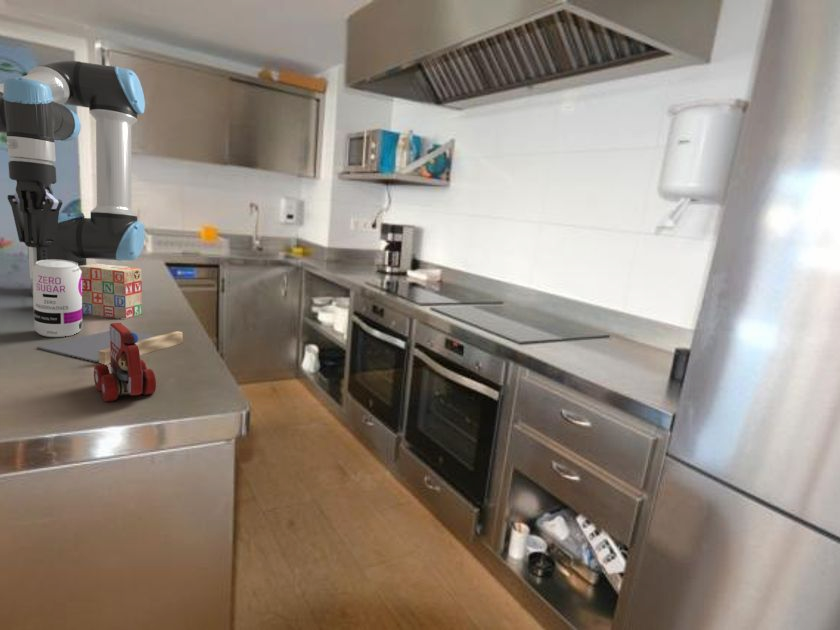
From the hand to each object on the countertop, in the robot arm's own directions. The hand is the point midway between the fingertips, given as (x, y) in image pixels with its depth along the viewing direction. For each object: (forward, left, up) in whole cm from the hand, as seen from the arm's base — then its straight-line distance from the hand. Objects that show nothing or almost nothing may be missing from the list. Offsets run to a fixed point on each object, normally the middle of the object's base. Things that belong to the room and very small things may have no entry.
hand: (39, 277), depth 102 cm
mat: (-1, +19, -12) cm, 22 cm away
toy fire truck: (+15, +42, -12) cm, 46 cm away
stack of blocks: (-18, -8, -12) cm, 23 cm away
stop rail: (-1, +28, -12) cm, 30 cm away
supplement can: (-1, +4, -12) cm, 12 cm away
